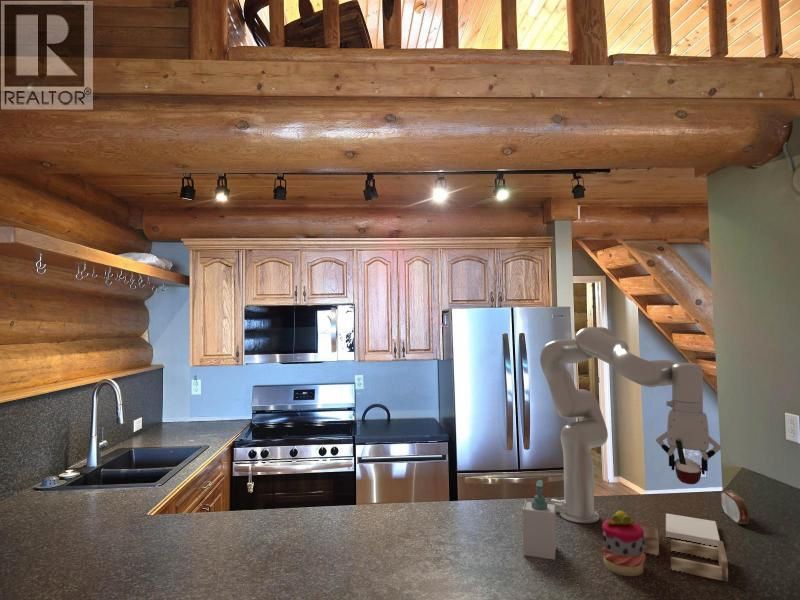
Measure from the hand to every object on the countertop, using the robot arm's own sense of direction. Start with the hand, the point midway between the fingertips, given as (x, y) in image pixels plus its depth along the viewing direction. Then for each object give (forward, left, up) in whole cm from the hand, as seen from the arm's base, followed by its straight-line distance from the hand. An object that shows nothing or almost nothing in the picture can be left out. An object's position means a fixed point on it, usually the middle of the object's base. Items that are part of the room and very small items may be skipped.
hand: (687, 470), depth 142 cm
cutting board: (+1, +20, -24) cm, 32 cm away
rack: (+2, -3, -24) cm, 25 cm away
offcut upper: (-10, +2, -22) cm, 25 cm away
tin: (+14, +39, -25) cm, 48 cm away
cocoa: (0, 0, -3) cm, 4 cm away
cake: (-16, -14, -24) cm, 32 cm away
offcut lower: (-10, +2, -25) cm, 27 cm away
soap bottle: (-38, -15, -24) cm, 48 cm away
